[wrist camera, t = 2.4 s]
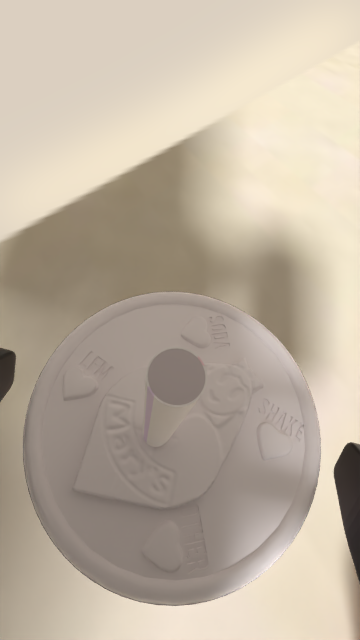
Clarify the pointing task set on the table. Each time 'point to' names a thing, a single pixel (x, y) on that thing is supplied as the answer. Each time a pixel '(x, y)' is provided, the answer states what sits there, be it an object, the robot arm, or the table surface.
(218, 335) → the smoothie
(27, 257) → the table surface
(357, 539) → the robot arm
